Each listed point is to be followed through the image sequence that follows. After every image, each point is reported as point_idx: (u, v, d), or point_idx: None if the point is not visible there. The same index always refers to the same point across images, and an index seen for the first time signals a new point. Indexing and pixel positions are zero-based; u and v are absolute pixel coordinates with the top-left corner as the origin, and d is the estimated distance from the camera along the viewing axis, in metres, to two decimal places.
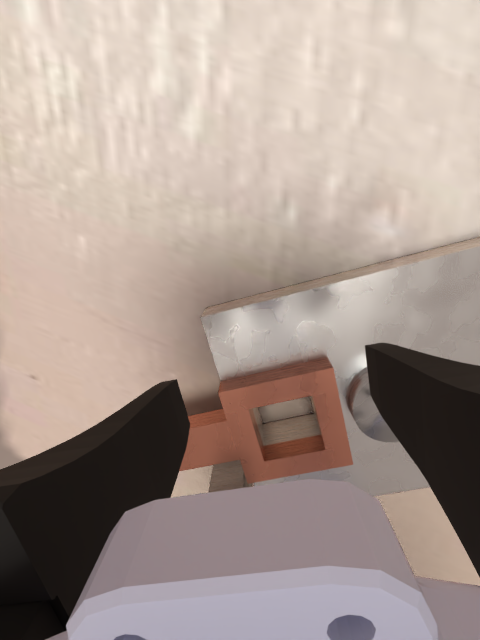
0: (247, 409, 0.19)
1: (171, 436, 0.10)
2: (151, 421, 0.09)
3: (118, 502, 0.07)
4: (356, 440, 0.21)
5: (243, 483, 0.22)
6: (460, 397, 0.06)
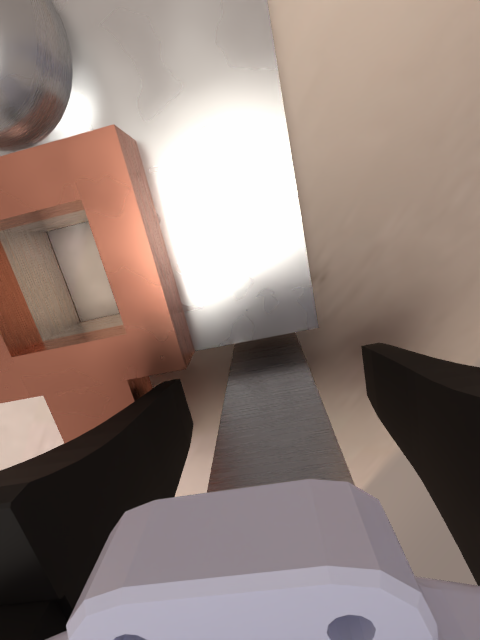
0: (12, 358, 0.10)
1: (175, 435, 0.10)
2: (155, 420, 0.09)
3: (123, 501, 0.07)
4: (112, 117, 0.09)
5: (234, 362, 0.11)
6: (454, 398, 0.06)
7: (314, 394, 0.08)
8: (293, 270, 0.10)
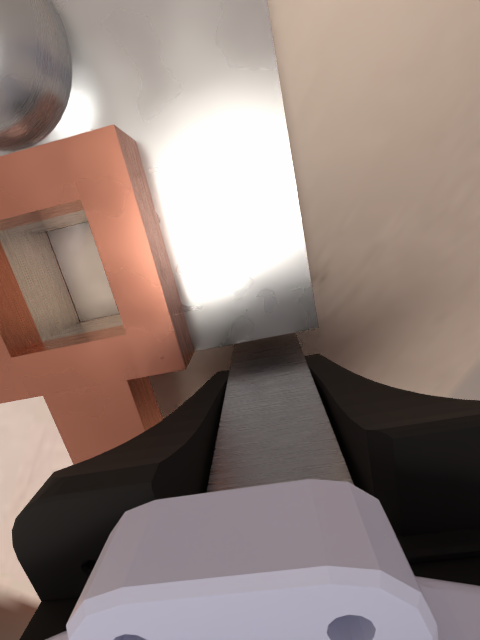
0: (12, 358, 0.10)
1: None
2: None
3: None
4: (112, 117, 0.09)
5: (234, 362, 0.11)
6: (341, 416, 0.06)
7: (314, 395, 0.08)
8: (293, 270, 0.10)
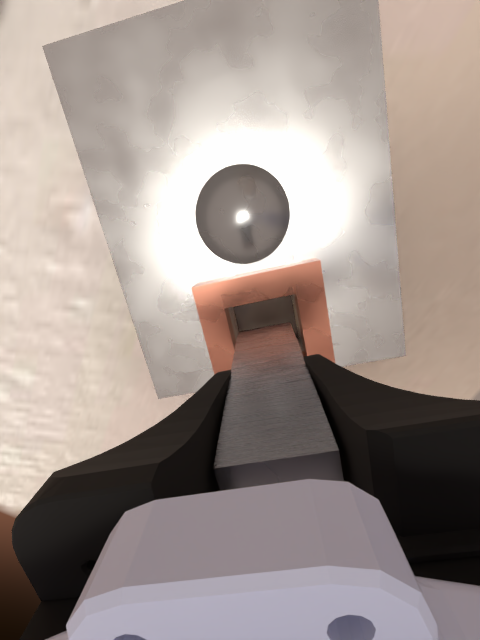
0: None
1: None
2: (222, 409, 0.09)
3: (212, 489, 0.07)
4: (304, 246, 0.17)
5: (237, 351, 0.13)
6: (341, 416, 0.06)
7: (306, 374, 0.09)
8: (394, 324, 0.18)
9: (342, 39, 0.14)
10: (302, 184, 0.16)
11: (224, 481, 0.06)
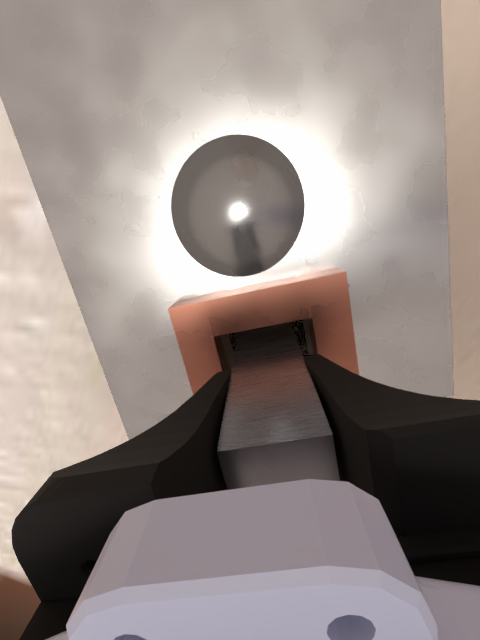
0: None
1: None
2: (222, 409, 0.09)
3: (212, 489, 0.07)
4: (321, 251, 0.13)
5: (238, 346, 0.13)
6: (342, 416, 0.06)
7: (303, 367, 0.10)
8: (440, 355, 0.14)
9: None
10: (320, 166, 0.12)
11: (227, 464, 0.07)
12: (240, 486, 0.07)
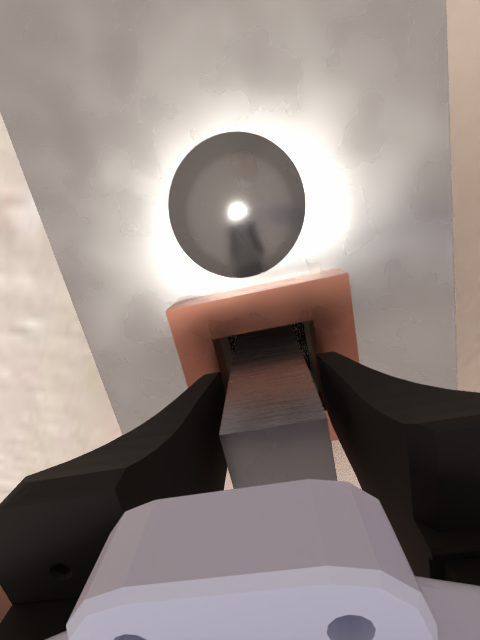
0: None
1: None
2: (206, 412, 0.09)
3: (190, 492, 0.07)
4: (322, 252, 0.12)
5: (238, 341, 0.13)
6: (369, 411, 0.06)
7: (301, 359, 0.10)
8: (444, 358, 0.13)
9: None
10: (322, 165, 0.11)
11: (228, 447, 0.07)
12: (241, 468, 0.08)
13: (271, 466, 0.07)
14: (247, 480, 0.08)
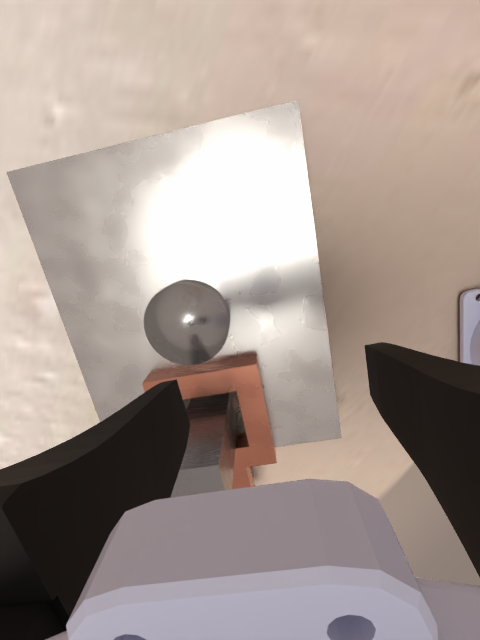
0: None
1: (171, 436, 0.10)
2: (151, 421, 0.09)
3: (118, 502, 0.07)
4: (246, 344, 0.19)
5: None
6: (460, 397, 0.06)
7: (223, 419, 0.17)
8: (329, 411, 0.20)
9: (274, 177, 0.16)
10: (243, 293, 0.18)
11: None
12: (175, 489, 0.14)
13: (191, 489, 0.14)
14: (179, 496, 0.14)
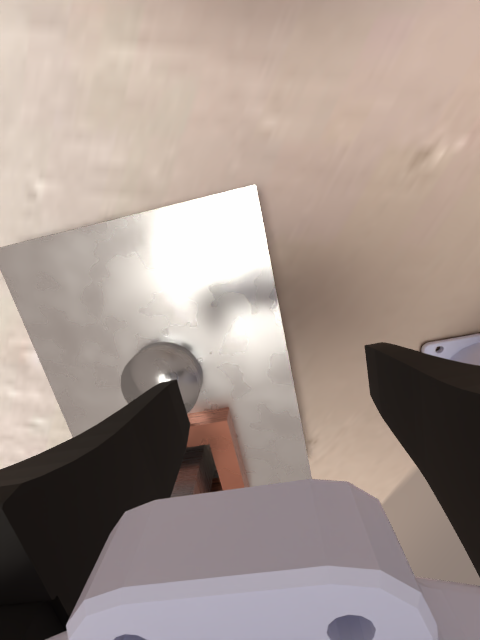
0: None
1: (171, 436, 0.10)
2: (151, 421, 0.09)
3: (118, 502, 0.07)
4: (219, 398, 0.20)
5: None
6: (460, 397, 0.06)
7: (195, 474, 0.18)
8: (300, 458, 0.21)
9: (237, 251, 0.17)
10: (213, 353, 0.19)
11: None
12: None
13: None
14: None
